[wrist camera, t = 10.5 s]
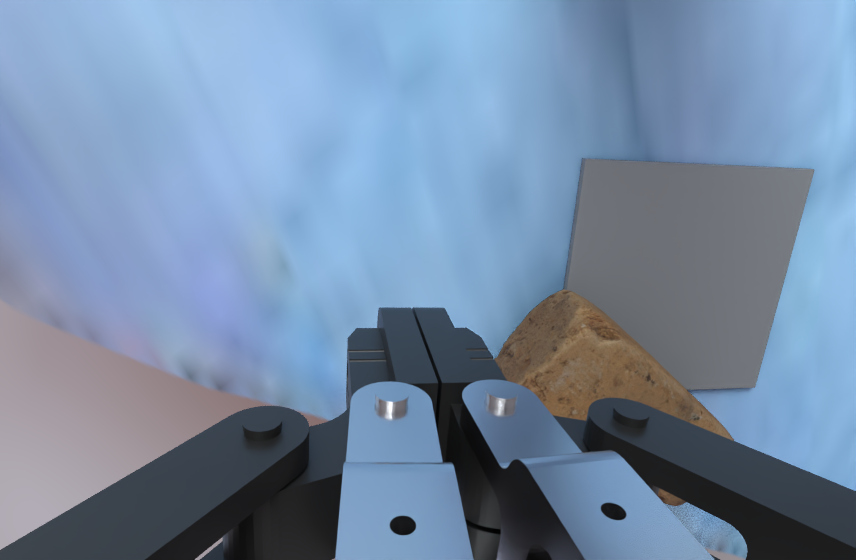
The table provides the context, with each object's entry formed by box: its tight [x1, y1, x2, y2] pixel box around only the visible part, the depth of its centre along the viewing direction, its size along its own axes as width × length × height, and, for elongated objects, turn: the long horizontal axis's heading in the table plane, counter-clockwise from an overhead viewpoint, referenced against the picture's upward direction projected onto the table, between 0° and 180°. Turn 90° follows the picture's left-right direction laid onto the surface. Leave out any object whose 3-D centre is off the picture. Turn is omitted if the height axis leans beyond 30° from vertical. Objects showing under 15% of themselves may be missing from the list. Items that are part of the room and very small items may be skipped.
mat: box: [564, 158, 814, 390], centre depth 47 cm, size 20×20×1 cm
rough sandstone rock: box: [494, 289, 734, 506], centre depth 45 cm, size 11×8×20 cm
